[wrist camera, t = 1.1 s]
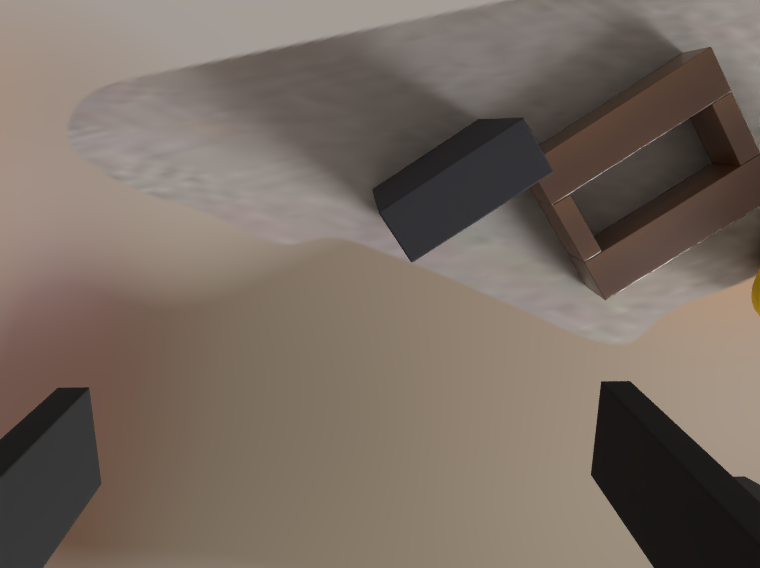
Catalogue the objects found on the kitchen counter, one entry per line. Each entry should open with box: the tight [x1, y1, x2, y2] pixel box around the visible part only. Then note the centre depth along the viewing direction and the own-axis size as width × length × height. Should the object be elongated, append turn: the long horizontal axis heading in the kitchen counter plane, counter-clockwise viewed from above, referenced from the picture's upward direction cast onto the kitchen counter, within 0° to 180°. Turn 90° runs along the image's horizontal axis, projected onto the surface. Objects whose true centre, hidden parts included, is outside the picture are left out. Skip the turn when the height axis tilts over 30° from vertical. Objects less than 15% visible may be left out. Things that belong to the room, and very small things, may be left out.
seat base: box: [530, 47, 760, 300], centre depth 37 cm, size 10×12×3 cm
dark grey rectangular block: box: [372, 118, 553, 262], centre depth 33 cm, size 3×8×10 cm, turn 123°
